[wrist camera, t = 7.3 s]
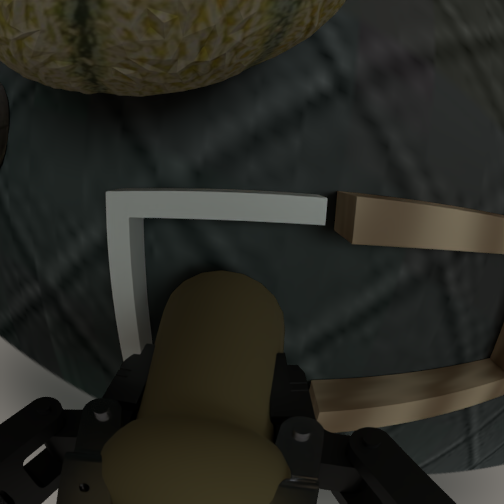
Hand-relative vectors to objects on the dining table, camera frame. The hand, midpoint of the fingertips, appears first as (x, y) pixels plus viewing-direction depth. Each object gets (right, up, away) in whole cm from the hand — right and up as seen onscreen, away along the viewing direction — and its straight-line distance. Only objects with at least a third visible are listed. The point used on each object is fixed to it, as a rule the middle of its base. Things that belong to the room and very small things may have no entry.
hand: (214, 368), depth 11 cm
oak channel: (+14, +1, +5) cm, 15 cm away
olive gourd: (0, +1, +3) cm, 3 cm away
